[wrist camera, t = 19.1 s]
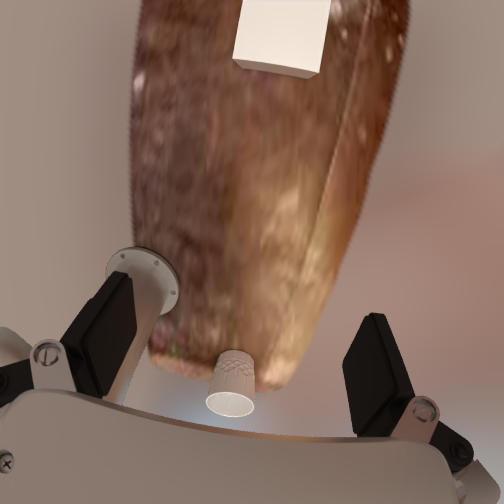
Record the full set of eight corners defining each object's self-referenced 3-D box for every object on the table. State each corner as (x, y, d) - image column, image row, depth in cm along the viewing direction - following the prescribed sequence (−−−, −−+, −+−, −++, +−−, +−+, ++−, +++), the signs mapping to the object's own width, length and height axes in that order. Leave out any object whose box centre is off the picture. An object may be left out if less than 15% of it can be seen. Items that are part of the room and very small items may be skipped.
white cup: (206, 353, 53) (196, 396, 44) (245, 342, 51) (239, 388, 42) (227, 377, 56) (221, 419, 47) (264, 368, 54) (262, 412, 45)
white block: (307, 79, 31) (318, 72, 23) (241, 68, 31) (232, 58, 23) (320, 7, 26) (333, -17, 18) (254, -4, 26) (249, -31, 18)
